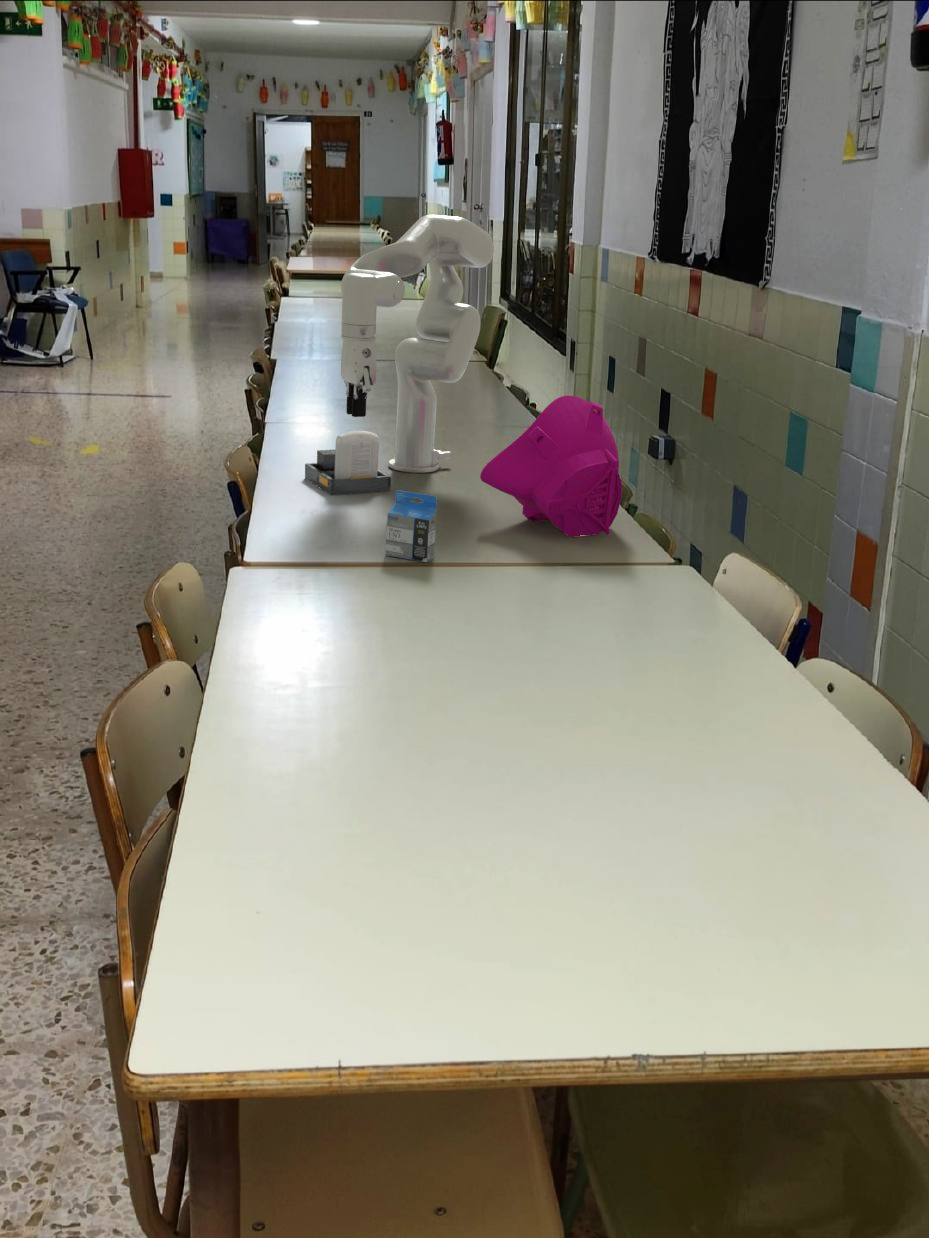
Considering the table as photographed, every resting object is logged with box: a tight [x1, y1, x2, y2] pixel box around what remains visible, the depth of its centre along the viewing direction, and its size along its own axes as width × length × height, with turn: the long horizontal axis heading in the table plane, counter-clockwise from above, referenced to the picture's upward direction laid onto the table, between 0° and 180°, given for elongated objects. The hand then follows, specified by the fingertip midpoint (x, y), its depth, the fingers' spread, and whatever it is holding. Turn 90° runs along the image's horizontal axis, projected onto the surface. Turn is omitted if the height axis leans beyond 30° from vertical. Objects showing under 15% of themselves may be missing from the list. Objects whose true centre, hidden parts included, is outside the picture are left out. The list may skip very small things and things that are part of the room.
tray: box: [304, 449, 392, 496], centre depth 279 cm, size 15×16×7 cm
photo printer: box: [334, 430, 380, 479], centre depth 275 cm, size 10×4×12 cm, turn 121°
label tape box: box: [384, 489, 438, 563], centre depth 228 cm, size 9×4×12 cm, turn 69°
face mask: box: [479, 394, 623, 538], centre depth 252 cm, size 28×23×30 cm
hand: (356, 414), depth 271 cm, fingers closed
